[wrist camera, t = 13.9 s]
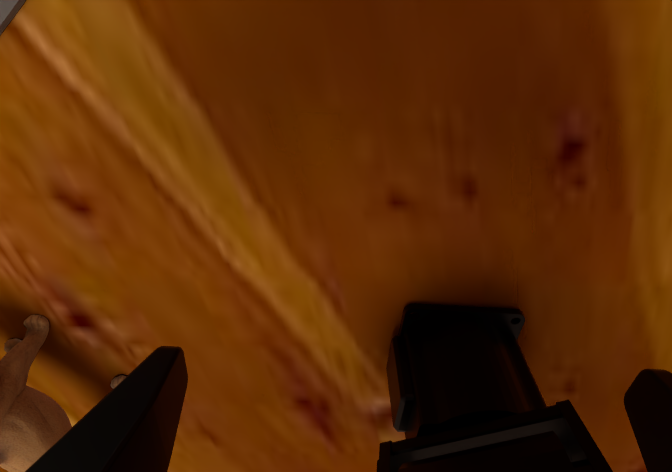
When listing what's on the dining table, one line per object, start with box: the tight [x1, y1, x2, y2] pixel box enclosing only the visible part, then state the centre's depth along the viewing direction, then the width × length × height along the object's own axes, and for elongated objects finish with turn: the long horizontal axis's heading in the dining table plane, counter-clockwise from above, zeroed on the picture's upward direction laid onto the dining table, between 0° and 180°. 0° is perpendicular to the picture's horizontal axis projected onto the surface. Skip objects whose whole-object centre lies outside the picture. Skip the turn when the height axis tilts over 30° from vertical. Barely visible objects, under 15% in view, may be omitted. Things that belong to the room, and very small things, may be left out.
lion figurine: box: [0, 315, 126, 472], centre depth 23 cm, size 15×5×9 cm, turn 40°
